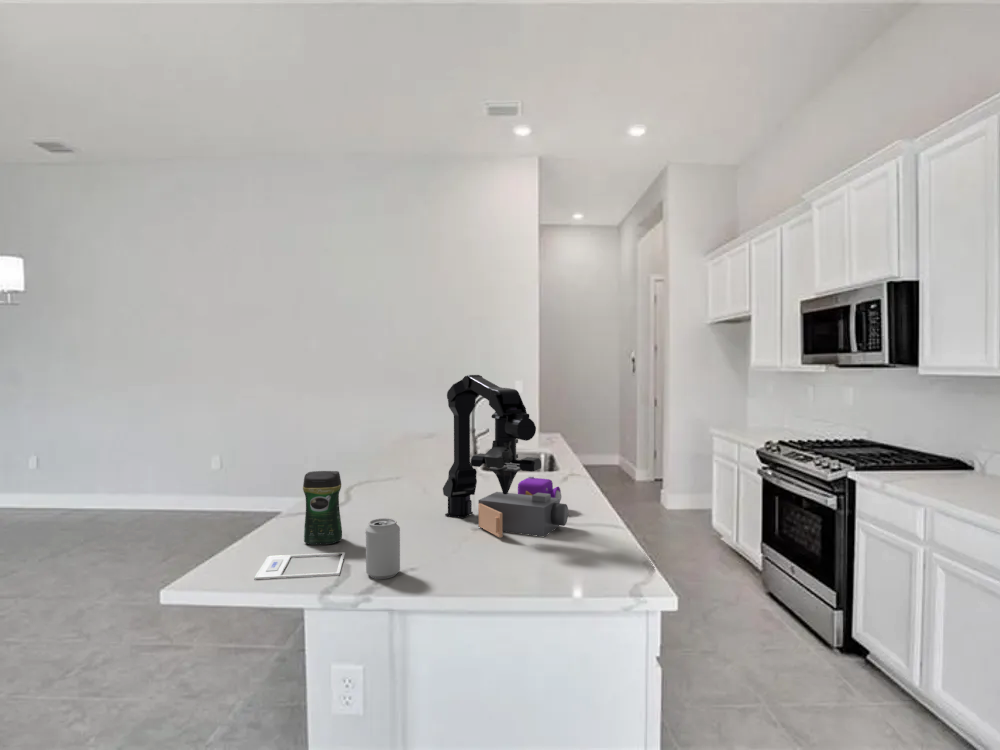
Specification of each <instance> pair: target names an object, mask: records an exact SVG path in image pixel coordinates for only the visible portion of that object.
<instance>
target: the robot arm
mask: <svg viewBox="0 0 1000 750" xmlns="http://www.w3.org/2000/svg"><path fill="white" fill-rule="evenodd" d="M480 396H481V397H482V398H484V399H486V400H487V401H488V405H489V406H490V408H492V410H493V411H494V413H492V415H491V419H494V440H492V443H491V444H492V445H491V448H490V449H488V451H487V452H486V453H481V452H480V453H477V454H474V455H472V456H471V414H472V412H473V410H474V409H475V407H476V400H477V398H479V397H480ZM446 399H447V404H448V408H449V410H450V411H451V413H452V415H453V463H452V465H451V467H450V468H449V469H448V477H447V480H446V482H445V483H444V485H443V487H442V493H443V496H445V497H447V512H446V513H445V514H444V516H446V517H453V518H458V519H459V518H460V519H464V518H466V517H468V516H470V515H472V514H473V511H472V507H473V506H472V503H473V502H472V499H471V496H474V495H475V493H476V488H477V483H478V480H477V473H478V472H477V470H476V469H477V468H474V467H478V468H481V467H482V466H483V465H484V464H485V467H486V468H489V471H490V472H493V473H494V474H495V476H496V478H497V480H498V483H499V485H500V489H501V492H503V494H508V493H509V491H510V489H511V487H512V484H513V482H514V479H515V477H516V475H517V473H518V472H519V471H520V472H521V471H522V472H536V471H538V470H541V469H542V460H541V458H540V457H533V456H532V457H529V456H526V457H524V458H521V459H519V453H518V454H517V444H519V440H520V441H524V442H525V441H527V442H528V441H531V440H532V439H533V438H534V437H535V435H536V432H537V426H536V424H535V421H534V420H533V419H531V418H530V414H529V413H527V408H526V406H525V404H524V403H523V400H522V397H521V394H520V393H519V391H518V390H517V389H514V388H507V387H501V386H498V384H497V385H496V384H495V383H493V382H491V381H489V380H487V379H485V378H484V377H483V376H482V375H480V374H468V375H465V376H464V377H463V378H462V379H460V380H458V381H457V382H455V383H453V384H452V385H451V386H450V388H449V389H448V391H447V392H446Z"/></svg>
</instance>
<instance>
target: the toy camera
mask: <svg viewBox="0 0 1000 750" xmlns="http://www.w3.org/2000/svg"><path fill="white" fill-rule="evenodd" d="M561 492H562V491H561V488H560V486H555V487H554V488H553V481H552V480H551V479H549V478H541V477H539V478H537V477H534V475H533V476H532V475H528V476H527V478H525V479H523V480H521V481H519V482H518V483H517V494H523V495H534V494H536V493H546V494H551V498H560V502H561V500H562V493H561Z"/></svg>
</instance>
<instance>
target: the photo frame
mask: <svg viewBox="0 0 1000 750" xmlns="http://www.w3.org/2000/svg"><path fill="white" fill-rule="evenodd" d="M341 554H342V555H341ZM339 555H340V559H339V562H338V566H337V569H336V571H335V572H333V571H332V572H320V573H318V572H314V573H299V574H283V573H284V572H285V570H284V569H286V568H285V567H287V566H288V564H289V562H290V560H291V559H293V558H292V557H299V558H315V557H316V556H319V557H333V556H334V557H335V556H336V557H337V556H339ZM345 555H346V552H345V551H344V552H343V551H342V552H326V553H325V552H321V553H303V554H301V553H300V554H282V555H268V556H267V557H266V558H265V560H264V561H263V563H262V565H261V566H260V568H259V569H258V571H257V572H256V574H255V576H254V577H253V580H254V581H256V579H263V580H271V579H270V578H281V579H287V578H286V577H299V578H311V577H312V578H313V576H317V577H327V576H328V577H333V576H334V577H335V576H340V574H341V570H342V567H343V563H344V560H343V559H345V557H346V556H345ZM290 558H291V559H290ZM286 565H287V566H286ZM283 571H284V572H283ZM284 577H285V578H284Z"/></svg>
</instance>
